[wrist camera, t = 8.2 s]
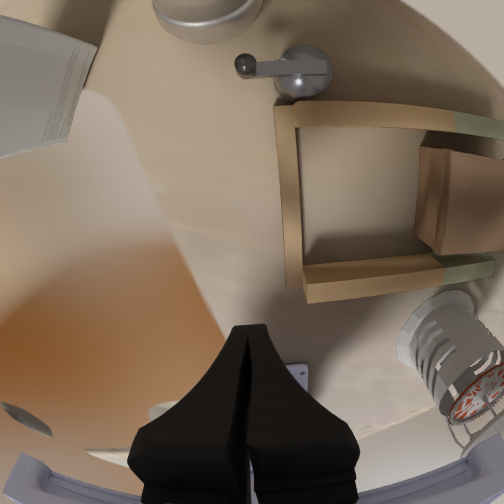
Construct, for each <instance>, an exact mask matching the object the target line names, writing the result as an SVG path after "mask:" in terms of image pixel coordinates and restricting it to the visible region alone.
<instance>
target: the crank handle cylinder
mask: <svg viewBox="0 0 504 504" xmlns="http://www.w3.org/2000/svg"><path fill="white" fill-rule="evenodd" d="M234 64H235V68H236V72H237V74H238V76H240V77H241V78H243V79H254V78H267V77H274V86H275V89H276V91H277V92H278V94H279V95H280V96H281V97H283V98H284V99H286V100H288V101H291V102H297V101H307V100H309V99H310V98H312V97H314V96H315V95H317V94H318V93H320V92H321V91H323V90H324V89H326V88H327V87H328V85H329V84H330V82H331V80H332V77H333V68H332V64H331V62H330V60H329V58H328V57H327V56H326V55H325V54H324V53H323V52H322V51H321V50H319V49H317V48H315V47H312V46H308V45H299V46H294V47H292V48H290V49H288V50H287V51H286V52H284V54H283V55H282V56H281V58H280V60H279V61H267V62H256V60H255V58H254V57H253V56H252V55H250V54H241V55H239V56H238V57H237V58H236V59H235V62H234Z"/></svg>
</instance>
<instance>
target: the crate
mask: <svg viewBox="0 0 504 504" xmlns="http://www.w3.org/2000/svg"><path fill="white" fill-rule="evenodd" d="M413 235H415V236H416V237H417V238H419V239H420V240H422V241H423V242H424V243H426V244H427V245H428V246H430V247H431V248H432V249H433V252H434V253H436V254H437V255H452V254H467V253H482V252H496V251H503V250H504V159H503V160H501V159H496V158H492V157H487V156H482V155H477V154H471V153H465V152H459V151H456V150H452V149H445V148H442V149H438V148H431V147H422V146H419V177H418V193H417V205H416V215H415V225H414V233H413Z"/></svg>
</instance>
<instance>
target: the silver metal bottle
mask: <svg viewBox="0 0 504 504" xmlns="http://www.w3.org/2000/svg"><path fill="white" fill-rule="evenodd" d="M262 2H263V0H152V5H153V9H154V12H155V14H156V16H157V18H158V20H159V22H160V24H161V25H162V27H163V28H164V29H165V30H166V31H168V32H169V33H171V34H172V35H174V36H176V37H178V38H180V39H182V40H185V41H187V42H192V43H197V44H210V43H217V42H221V41H225V40H228V39H230V38H233V37H235V36H236V35H238V34H240V33H241V32H243V31H244V30H245V29H246V28H248V27H249V26H250V24H251V23H252V22H253V21H254V19H255V17H256V15H257V14H258V12H259V10H260V8H261V6H262Z"/></svg>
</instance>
